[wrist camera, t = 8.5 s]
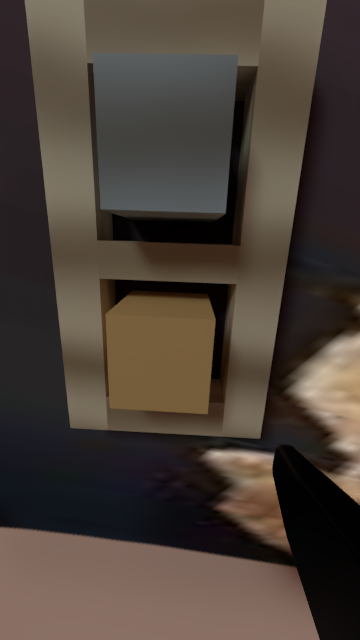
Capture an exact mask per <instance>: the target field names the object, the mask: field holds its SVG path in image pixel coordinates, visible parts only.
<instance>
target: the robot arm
mask: <svg viewBox="0 0 360 640" xmlns="http://www.w3.org/2000/svg"><path fill="white" fill-rule="evenodd" d="M272 470H273V477H274V482H275V486H276V491H277V495H278V500H279V504H280V509H281V513H282V518H283V523H284V527H285V531H286V535H287V538H288V542H289V545H290V548H291V551H292V555H293V558H294V561H295V564H296V567H297V570H298V573H299V576H300V579H301V582H302V585H303V588H304V592H305V595H306V598H307V601H308V604H309V607H310V610H311V613H312V616H313V620H314V623H315V626H316V629H317V632H318V635H319V638H320V640H360V505H359V504H358V503H357V502H356V501H354V500H353V499H352V498H351V497H350V496H349V495H348V494H346V493H345V492H344V491H343V490H342V489H341V488H340V487H338V486H337V485H336V484H335V483H334V482H333V481H332V480H331V479H329V478H328V477H327V476H326V475H325V474H324V473H323V472H321V471H320V470H319V469H318V468H317V467H316V466H315V465H314V464H312V463H311V462H310V461H309V460H308V459H307V458H306V457H304V456H303V455H302V454H301V453H300V452H299V451H298V450H296V449H295V448H294V447H293V446H291V445H277V447H276V450H275V456H274V461H273V469H272Z"/></svg>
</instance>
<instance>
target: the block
mask: <svg viewBox="0 0 360 640" xmlns="http://www.w3.org/2000/svg"><path fill="white" fill-rule="evenodd" d="M105 316H106V338H107V360H108V382H109V404H110V408H112V409H129V410H145V411H162V412H178V413H195V414H208V405H209V393H210V381H211V370H212V358H213V346H214V334H215V322H216V319H215V316H214V313H213V309H212V306H211V303H210V300H209V296H208V294H203V293H181V292H160V291H139V290H133V291H132V292H131V293H129V294H128V295H127V296H126V297H125V298H124V299H122V300H121V301H120V302H119V303H118V304H117V305H116V306H114V307H113V308H112V309H111V310H110V311H109V312H107V313H106V314H105Z"/></svg>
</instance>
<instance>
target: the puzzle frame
mask: <svg viewBox="0 0 360 640" xmlns="http://www.w3.org/2000/svg"><path fill="white" fill-rule="evenodd" d="M326 2H327V0H25V6H26V16H27V25H28V34H29V44H30V53H31V63H32V72H33V81H34V91H35V100H36V109H37V119H38V128H39V138H40V147H41V156H42V166H43V175H44V184H45V194H46V203H47V212H48V222H49V231H50V241H51V250H52V259H53V269H54V278H55V287H56V297H57V306H58V316H59V325H60V334H61V344H62V353H63V362H64V372H65V381H66V391H67V400H68V409H69V419H70V428H80V429H98V430H116V431H133V432H151V433H169V434H186V435H204V436H222V437H239V438H257V439H260V436H261V429H262V423H263V416H264V410H265V403H266V397H267V390H268V383H269V377H270V370H271V364H272V357H273V351H274V344H275V337H276V331H277V324H278V318H279V311H280V304H281V298H282V291H283V285H284V278H285V272H286V265H287V258H288V252H289V245H290V239H291V232H292V226H293V219H294V212H295V206H296V199H297V193H298V186H299V180H300V173H301V166H302V160H303V153H304V147H305V140H306V134H307V127H308V120H309V114H310V107H311V101H312V94H313V88H314V81H315V74H316V68H317V61H318V55H319V48H320V41H321V35H322V28H323V22H324V15H325V9H326ZM235 101H245V102H244V113H243V124H242V135H241V147H240V158H239V169H238V180H237V191H236V203H235V214H234V225H233V236H232V245H226V244H199V243H172V242H144V241H117V240H113V220H112V213H113V214H116V215H119V216H122V217H125V218H128V219H131V220H146V221H175V222H204V223H214V222H215V221H216V220H218V219H219V218H220V217H222V216H223V215H224V214H226V204H227V191H228V179H229V166H230V154H231V141H232V129H233V116H234V104H235ZM115 279H122V280H147V281H172V282H196V283H221V284H228V292H227V303H226V315H225V326H224V337H223V348H222V359H221V370H220V379H211V381H210V393H209V405H208V414H195V413H178V412H162V411H145V410H129V409H112V408H110V404H109V382H108V360H107V338H106V316H105V314H106V313H107V312H109V311H110V310H111V309H112V308H113V307H114V306H116V297H115Z"/></svg>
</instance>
